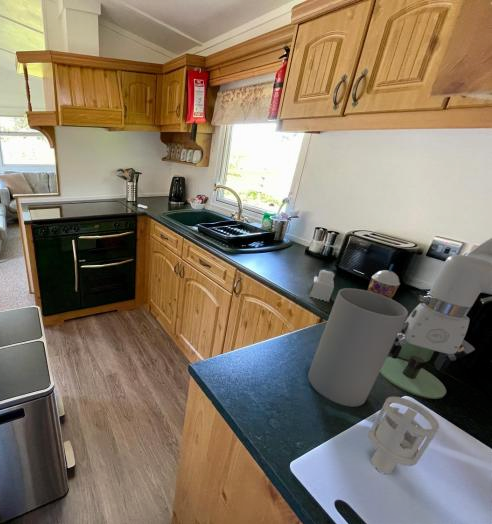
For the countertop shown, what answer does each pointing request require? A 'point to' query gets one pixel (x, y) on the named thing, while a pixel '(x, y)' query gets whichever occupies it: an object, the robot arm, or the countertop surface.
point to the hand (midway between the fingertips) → (414, 361)
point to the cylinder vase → (355, 345)
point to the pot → (414, 351)
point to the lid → (412, 377)
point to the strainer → (400, 435)
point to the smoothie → (384, 283)
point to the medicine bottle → (323, 285)
